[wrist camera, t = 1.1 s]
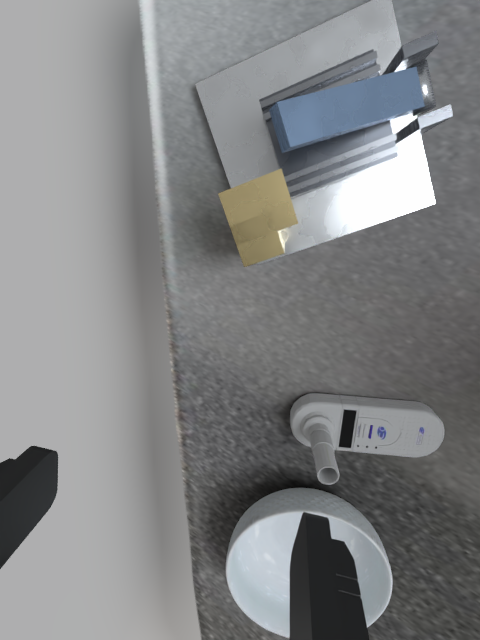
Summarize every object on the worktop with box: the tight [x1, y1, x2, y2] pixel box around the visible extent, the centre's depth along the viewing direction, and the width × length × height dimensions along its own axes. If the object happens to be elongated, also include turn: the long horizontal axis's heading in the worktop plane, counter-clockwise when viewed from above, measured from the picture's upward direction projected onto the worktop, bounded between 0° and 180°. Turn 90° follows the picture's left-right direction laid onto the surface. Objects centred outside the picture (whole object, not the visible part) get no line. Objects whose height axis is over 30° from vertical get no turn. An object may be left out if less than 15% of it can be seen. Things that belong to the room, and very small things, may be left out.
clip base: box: [195, 0, 453, 265], centre depth 27 cm, size 16×16×8 cm
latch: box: [218, 169, 298, 267], centre depth 28 cm, size 4×5×8 cm
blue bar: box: [269, 60, 436, 153], centre depth 22 cm, size 12×3×1 cm, turn 110°
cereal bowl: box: [226, 488, 392, 638], centre depth 39 cm, size 17×17×7 cm
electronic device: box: [290, 393, 444, 485], centre depth 34 cm, size 5×10×15 cm
